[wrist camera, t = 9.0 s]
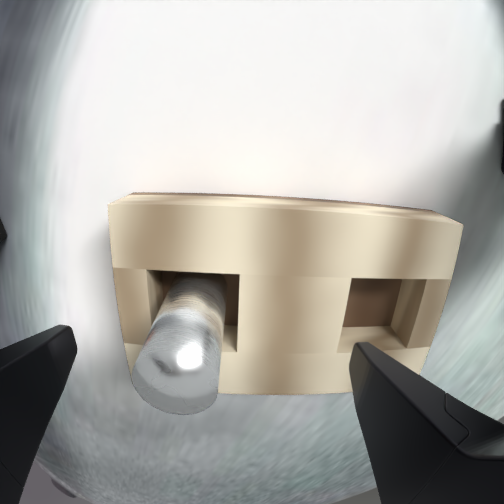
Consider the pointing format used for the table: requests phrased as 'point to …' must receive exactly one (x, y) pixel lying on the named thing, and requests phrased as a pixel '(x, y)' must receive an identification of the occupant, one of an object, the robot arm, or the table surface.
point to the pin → (184, 346)
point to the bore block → (288, 280)
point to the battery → (2, 232)
